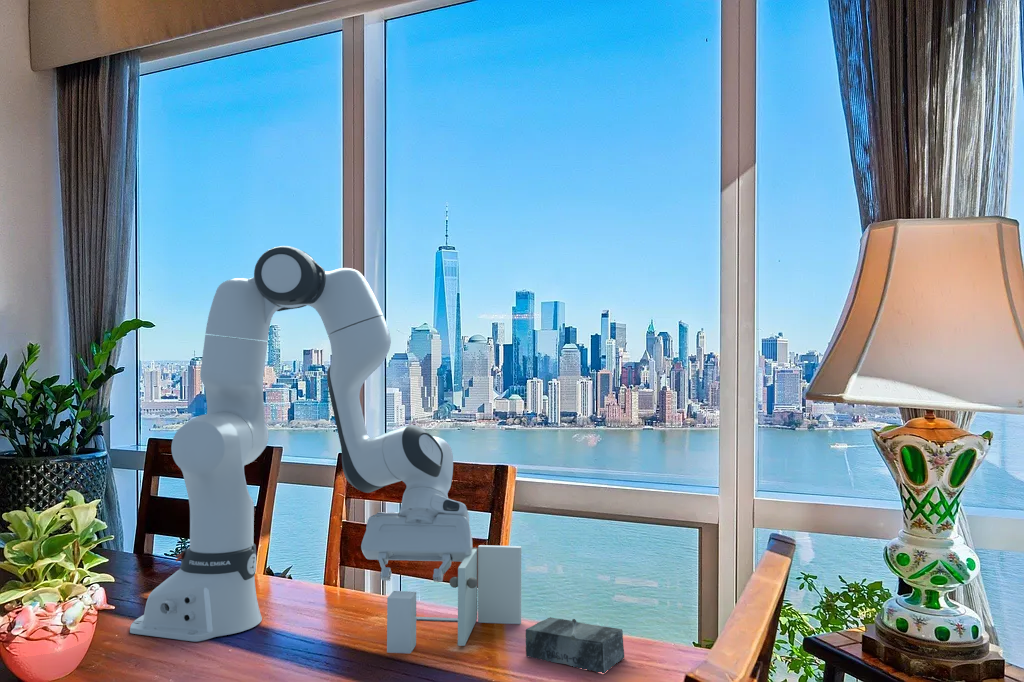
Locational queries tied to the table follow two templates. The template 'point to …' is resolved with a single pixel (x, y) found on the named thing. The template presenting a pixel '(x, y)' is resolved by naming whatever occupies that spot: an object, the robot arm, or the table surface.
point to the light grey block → (401, 622)
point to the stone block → (575, 644)
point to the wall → (496, 585)
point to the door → (466, 595)
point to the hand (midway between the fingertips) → (411, 579)
